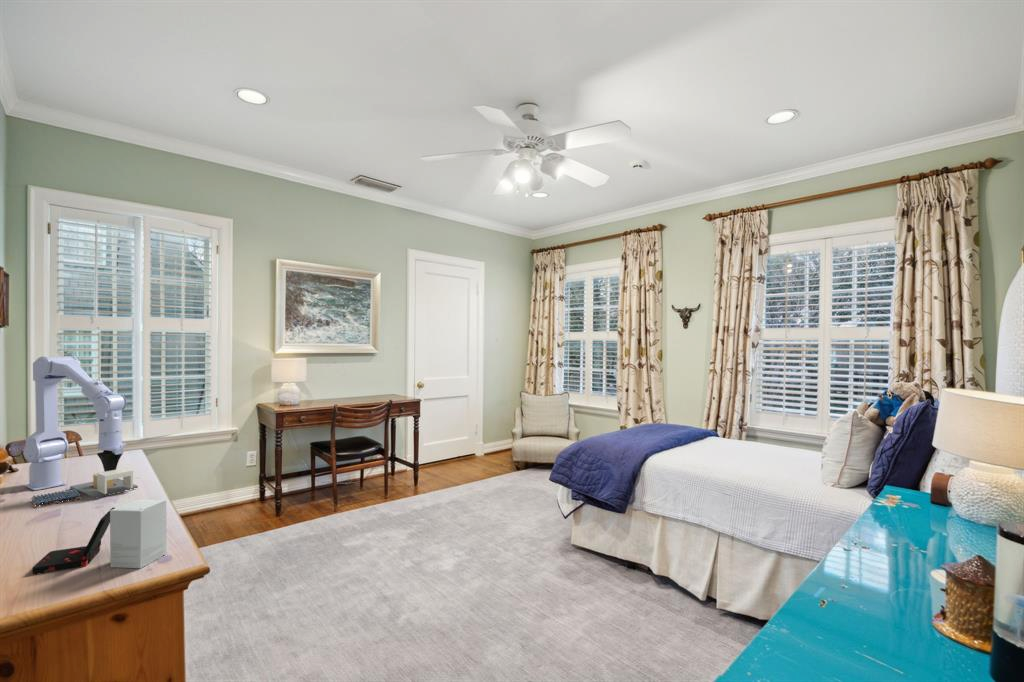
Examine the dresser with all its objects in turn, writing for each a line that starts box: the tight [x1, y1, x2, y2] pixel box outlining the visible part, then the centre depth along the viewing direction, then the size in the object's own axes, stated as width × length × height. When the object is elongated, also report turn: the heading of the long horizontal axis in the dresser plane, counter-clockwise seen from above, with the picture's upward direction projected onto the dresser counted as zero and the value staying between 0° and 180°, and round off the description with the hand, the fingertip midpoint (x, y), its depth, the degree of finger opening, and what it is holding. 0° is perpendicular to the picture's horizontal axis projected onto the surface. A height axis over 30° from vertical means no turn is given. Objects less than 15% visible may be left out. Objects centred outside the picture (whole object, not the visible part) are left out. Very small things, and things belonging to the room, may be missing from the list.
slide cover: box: [96, 467, 134, 494], centre depth 152 cm, size 6×7×6 cm
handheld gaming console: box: [31, 507, 116, 575], centre depth 106 cm, size 9×12×10 cm
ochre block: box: [92, 473, 113, 489], centre depth 157 cm, size 4×4×5 cm
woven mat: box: [31, 488, 82, 508], centre depth 146 cm, size 10×11×2 cm
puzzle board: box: [69, 478, 138, 500], centre depth 156 cm, size 18×12×1 cm, turn 58°
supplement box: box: [109, 499, 168, 569], centre depth 106 cm, size 7×7×13 cm
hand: (110, 473), depth 154 cm, fingers closed
